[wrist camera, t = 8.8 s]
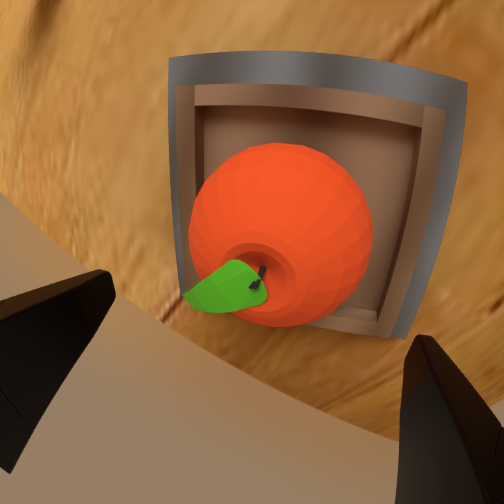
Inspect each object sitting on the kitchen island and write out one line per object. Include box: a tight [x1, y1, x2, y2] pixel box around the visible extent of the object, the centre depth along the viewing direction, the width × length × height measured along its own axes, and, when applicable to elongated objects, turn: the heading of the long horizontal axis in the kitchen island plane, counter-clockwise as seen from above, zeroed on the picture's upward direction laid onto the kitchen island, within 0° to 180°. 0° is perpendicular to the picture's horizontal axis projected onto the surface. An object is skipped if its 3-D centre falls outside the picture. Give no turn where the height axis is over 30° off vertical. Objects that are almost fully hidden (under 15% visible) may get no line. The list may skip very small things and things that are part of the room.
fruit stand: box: [168, 51, 468, 339], centre depth 15 cm, size 16×16×4 cm
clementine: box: [183, 143, 373, 327], centre depth 12 cm, size 8×7×7 cm
